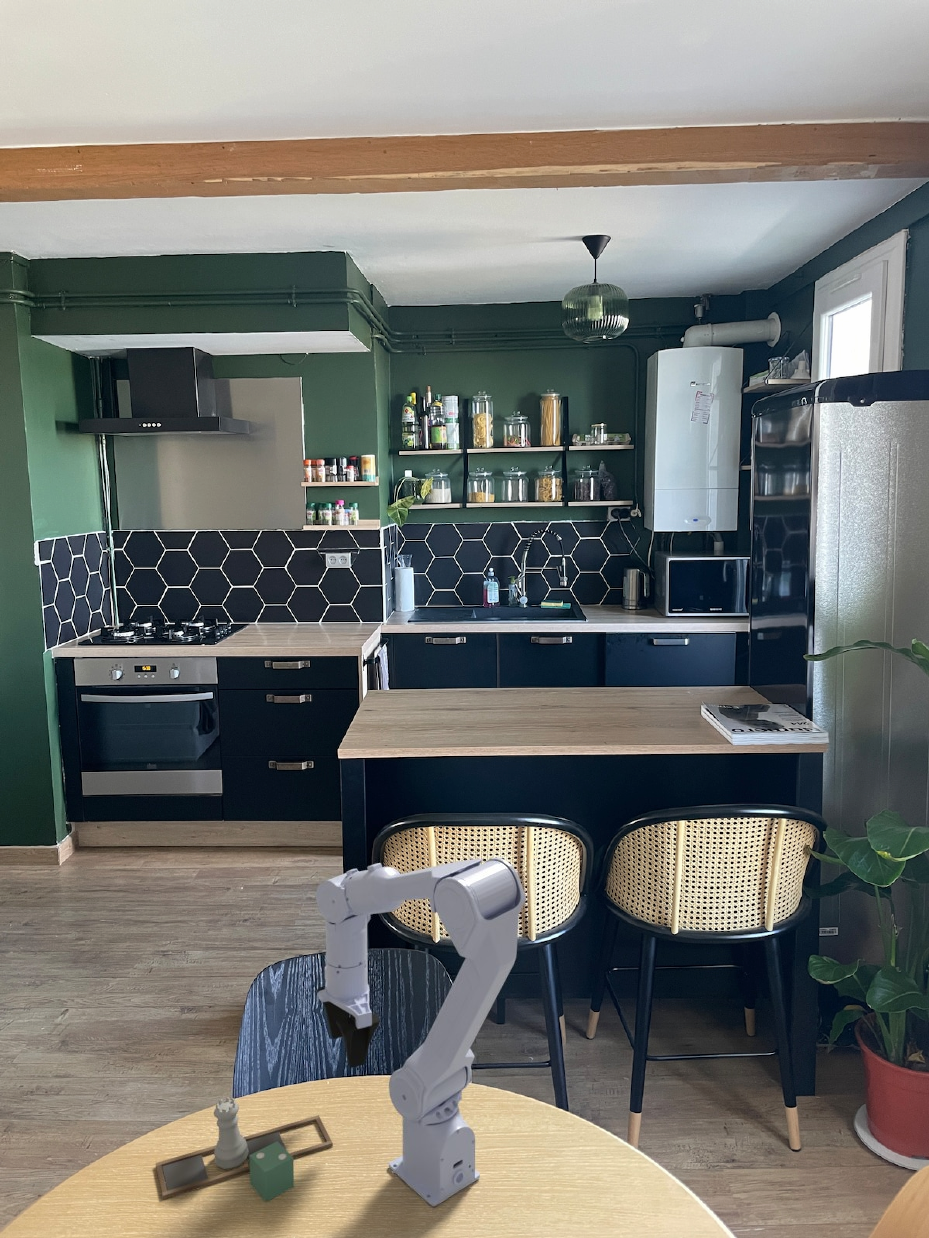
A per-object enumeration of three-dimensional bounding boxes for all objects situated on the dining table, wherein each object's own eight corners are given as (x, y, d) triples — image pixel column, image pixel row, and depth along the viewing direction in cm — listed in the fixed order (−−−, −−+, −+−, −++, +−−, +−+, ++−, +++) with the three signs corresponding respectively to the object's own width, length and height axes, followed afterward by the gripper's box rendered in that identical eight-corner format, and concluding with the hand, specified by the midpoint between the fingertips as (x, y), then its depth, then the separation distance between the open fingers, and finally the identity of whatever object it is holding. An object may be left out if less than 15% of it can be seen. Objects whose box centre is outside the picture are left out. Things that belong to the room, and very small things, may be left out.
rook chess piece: (254, 1146, 123) (248, 1092, 122) (241, 1171, 118) (235, 1115, 117) (222, 1145, 123) (216, 1091, 122) (208, 1170, 119) (202, 1114, 118)
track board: (318, 1118, 129) (318, 1114, 129) (332, 1146, 124) (332, 1142, 123) (155, 1166, 120) (155, 1162, 120) (163, 1199, 114) (162, 1195, 114)
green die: (293, 1186, 116) (293, 1156, 116) (265, 1201, 114) (265, 1171, 113) (278, 1169, 119) (277, 1140, 119) (250, 1184, 116) (249, 1154, 116)
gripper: (303, 942, 132) (305, 1030, 133) (335, 988, 119) (336, 1086, 120) (350, 932, 135) (351, 1019, 137) (386, 977, 122) (386, 1072, 124)
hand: (347, 1049), depth 129 cm, fingers open, 7 cm apart
